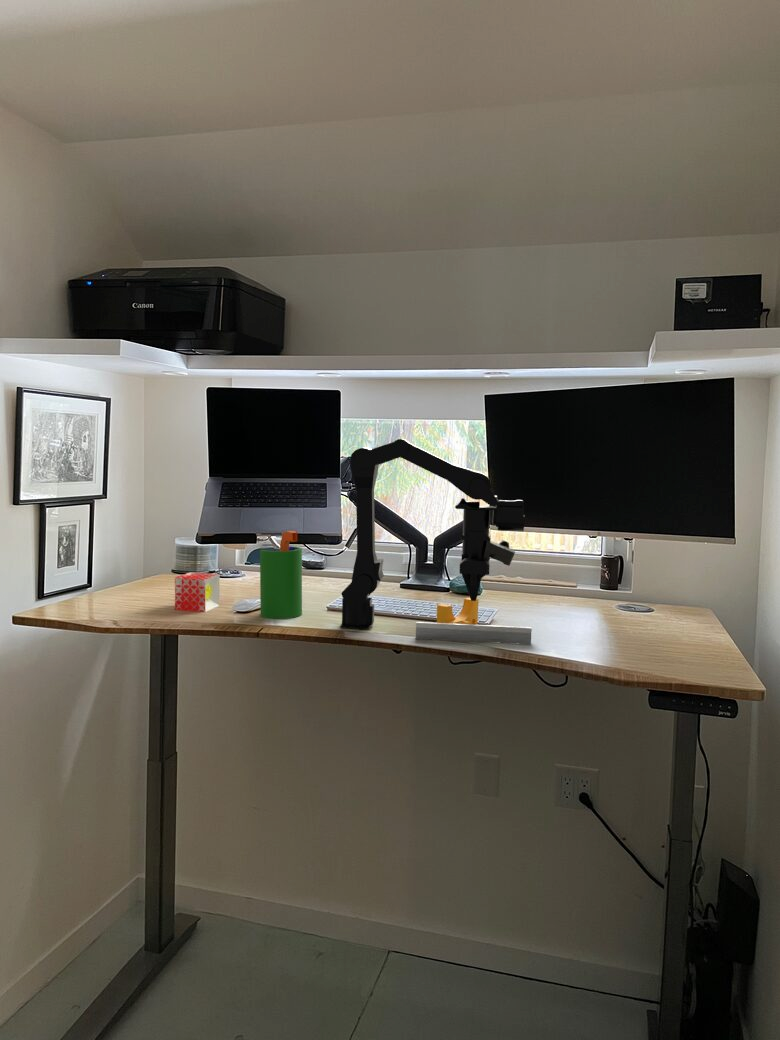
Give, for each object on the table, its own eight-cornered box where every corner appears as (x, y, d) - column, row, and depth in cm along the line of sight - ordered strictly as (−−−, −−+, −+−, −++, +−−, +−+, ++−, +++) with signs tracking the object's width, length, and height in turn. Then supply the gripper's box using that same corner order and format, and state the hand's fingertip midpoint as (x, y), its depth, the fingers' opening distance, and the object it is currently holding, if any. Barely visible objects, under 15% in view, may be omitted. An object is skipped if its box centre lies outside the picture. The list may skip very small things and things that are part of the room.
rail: (415, 638, 167) (416, 622, 167) (416, 636, 169) (416, 620, 169) (530, 644, 165) (531, 628, 164) (530, 642, 167) (531, 626, 166)
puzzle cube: (205, 612, 189) (205, 579, 188) (174, 610, 190) (174, 577, 190) (219, 605, 197) (219, 574, 196) (190, 603, 198) (190, 572, 197)
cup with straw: (276, 608, 194) (277, 527, 192) (309, 612, 191) (310, 529, 189) (255, 616, 185) (255, 531, 183) (289, 620, 182) (290, 533, 180)
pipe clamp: (452, 637, 170) (453, 608, 169) (436, 634, 173) (437, 605, 172) (483, 628, 179) (484, 600, 178) (468, 625, 182) (469, 597, 181)
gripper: (515, 536, 163) (512, 611, 164) (512, 526, 181) (509, 594, 183) (460, 534, 164) (458, 608, 166) (463, 525, 183) (460, 592, 184)
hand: (473, 600), depth 174 cm, fingers closed
